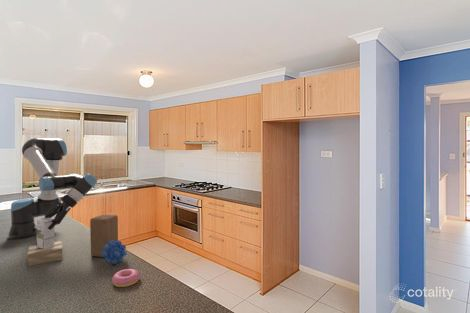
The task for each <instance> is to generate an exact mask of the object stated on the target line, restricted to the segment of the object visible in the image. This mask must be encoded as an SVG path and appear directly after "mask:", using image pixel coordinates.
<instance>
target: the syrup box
mask: <svg viewBox="0 0 470 313" xmlns="http://www.w3.org/2000/svg"><path fill="white" fill-rule="evenodd" d="M52 220H54V218H53V217H51V218H44V217H42V218H39V219H36V225H37V234H36V245H37V248H41V249H47V248H50V247H53V246H54V242H55V227H54V228H53V229H52V230H51V231H50V232H49V233H48V234H47V235H46V236H44V235H43V234H41V232H42V231H43V230H44V229H45V227H46V226H47V225H48V224H49V223H50V222H51V221H52ZM52 223H53V222H52Z"/></svg>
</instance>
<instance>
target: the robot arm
mask: <svg viewBox="0 0 470 313" xmlns="http://www.w3.org/2000/svg"><path fill="white" fill-rule="evenodd" d="M21 153H22V155H23V158H24V159H25V160H27V161H28V162H29V163H30V165H31V166H32V168H33V170H34V172H36V174H37V175H38V177H39V179H38V187H39V190H40V193H39V194H38V195H37V199H34V197H28V198H21V199H16V200H15V201H13V202H12V203H11V205H10V215H11V217H10V219H11V225H10V228H9V231H8V233H7V238H8V239H10V240H19V239H26V238H30V237H34V236H37V224H36V222H35V218H39V217H43V218H53V217H54V218H53V219H54V220H52V221H51V222H50V223H49V224H48V225H47V226H46V227H45V229H44V230H43V231H42V232H41V234H43V235H44V236H46V235H47V234H48V233H49V232H50V231H51V230H52V229H53V228H54V229H55V228H56V226H57V225H60V224H61V223H62V221H63V219H64V218H65V217H66V215H67V214H68V213H69V211H70V210H71V208H74V207H75V206H76V205H78V202H80V201H81V200H83V199H84V197H85V196H86V195H87V194H88V192H89V191H91V190H92V189H93V188H94V187H95V185H96V184H97V183H98V179H97V178H96V177H95V176H94V175H92V174H91V173H85V174H84V175H81V174H78V173H75V172H73V173H70V174H67V175H59V169H60V168H59V167H60V161H63V157H65V156H67V153H68V147H67V144H66V142H65V140H64V139H62V138H54V137H52V138H50V137H48V138H47V137H45V138H44V137H43V138H42V137H34V138H31V139H29V140H27V141H26V142H25V143H24V144H23V145H22V147H21ZM65 189H69V190H68V192H66V194H64V196H63V197H61V198H60V197H59V195H58V194H57V190H58V191H59V190H65ZM52 222H53V223H52Z"/></svg>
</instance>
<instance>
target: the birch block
mask: <svg viewBox="0 0 470 313" xmlns="http://www.w3.org/2000/svg"><path fill="white" fill-rule="evenodd" d="M63 259H64V258H63V243H62V240H57V241H54V246H53V247H50V248H47V249H41V248H37V244H33V245H29V246H28V251H27V266H28V267H31V266H35V265H40V264H45V263H50V262H54V261H56V262H57V261H60V260H63Z"/></svg>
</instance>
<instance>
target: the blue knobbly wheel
mask: <svg viewBox="0 0 470 313" xmlns="http://www.w3.org/2000/svg"><path fill="white" fill-rule="evenodd" d="M103 248H104V250H105V251H103V252H102V256H103V257H102V258H104V262H105V263H111V264H112V265H116V264H117V263H122V262H123V261H124V257H125V256H127V251H126V249H127V247H126V245H125V244H122V241H121V240H118V241H116V242H115V241H110V242H109V245H104V247H103Z"/></svg>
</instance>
